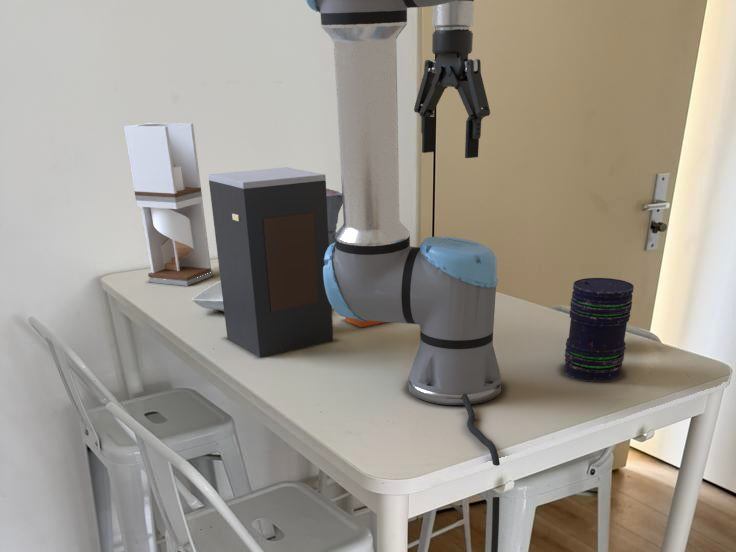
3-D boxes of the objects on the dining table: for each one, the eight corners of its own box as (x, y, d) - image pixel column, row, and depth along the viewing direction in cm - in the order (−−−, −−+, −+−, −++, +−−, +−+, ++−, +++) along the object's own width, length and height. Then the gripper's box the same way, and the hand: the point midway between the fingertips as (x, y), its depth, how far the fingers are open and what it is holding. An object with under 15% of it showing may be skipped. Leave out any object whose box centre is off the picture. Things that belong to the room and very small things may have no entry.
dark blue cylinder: (628, 368, 135) (641, 281, 128) (612, 385, 128) (625, 295, 120) (573, 359, 140) (583, 275, 132) (554, 375, 132) (564, 287, 125)
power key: (424, 304, 172) (424, 293, 171) (441, 310, 168) (441, 299, 167) (345, 320, 162) (344, 309, 161) (361, 327, 158) (360, 315, 156)
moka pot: (344, 264, 207) (341, 184, 197) (289, 262, 210) (284, 183, 199) (353, 256, 215) (350, 179, 205) (300, 255, 218) (295, 178, 207)
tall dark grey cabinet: (297, 324, 160) (286, 167, 145) (333, 341, 150) (326, 174, 135) (226, 338, 152) (206, 174, 137) (259, 357, 142) (242, 182, 127)
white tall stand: (149, 282, 193) (123, 126, 175) (175, 272, 201) (152, 122, 183) (187, 285, 189) (165, 126, 171) (211, 276, 197) (193, 123, 180)
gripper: (514, 27, 136) (506, 158, 147) (427, 32, 154) (425, 149, 164) (482, 26, 132) (476, 161, 143) (397, 31, 150) (397, 151, 161)
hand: (449, 155), depth 154 cm, fingers open, 13 cm apart
